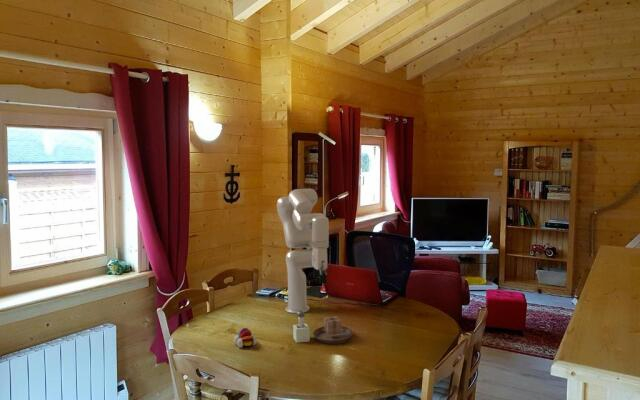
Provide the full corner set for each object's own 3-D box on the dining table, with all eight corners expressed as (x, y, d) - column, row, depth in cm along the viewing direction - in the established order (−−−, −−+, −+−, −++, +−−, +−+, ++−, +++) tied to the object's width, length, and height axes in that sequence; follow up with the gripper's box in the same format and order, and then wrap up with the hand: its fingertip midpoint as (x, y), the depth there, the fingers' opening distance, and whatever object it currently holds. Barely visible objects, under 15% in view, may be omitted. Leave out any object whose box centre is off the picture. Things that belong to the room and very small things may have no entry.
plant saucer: (323, 349, 224) (323, 342, 224) (306, 335, 240) (306, 329, 240) (359, 342, 231) (359, 335, 231) (341, 329, 247) (341, 323, 247)
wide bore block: (293, 337, 236) (293, 324, 235) (306, 336, 237) (306, 323, 237) (296, 342, 230) (296, 329, 229) (309, 341, 232) (309, 327, 231)
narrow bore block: (324, 330, 237) (324, 317, 237) (337, 329, 239) (336, 316, 238) (328, 335, 231) (328, 321, 231) (341, 333, 233) (341, 320, 232)
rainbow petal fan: (239, 350, 223) (239, 333, 222) (232, 342, 231) (232, 326, 230) (258, 346, 226) (258, 330, 226) (250, 339, 235) (250, 323, 234)
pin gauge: (297, 338, 235) (296, 311, 233) (303, 337, 236) (303, 310, 234) (298, 341, 232) (298, 313, 230) (305, 340, 233) (305, 313, 231)
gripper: (307, 239, 246) (307, 275, 249) (317, 248, 230) (317, 286, 232) (322, 239, 248) (322, 274, 251) (333, 247, 232) (333, 285, 234)
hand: (320, 280), depth 242 cm, fingers open, 9 cm apart
